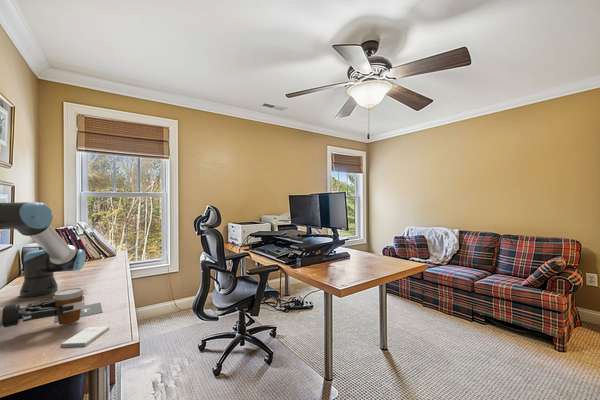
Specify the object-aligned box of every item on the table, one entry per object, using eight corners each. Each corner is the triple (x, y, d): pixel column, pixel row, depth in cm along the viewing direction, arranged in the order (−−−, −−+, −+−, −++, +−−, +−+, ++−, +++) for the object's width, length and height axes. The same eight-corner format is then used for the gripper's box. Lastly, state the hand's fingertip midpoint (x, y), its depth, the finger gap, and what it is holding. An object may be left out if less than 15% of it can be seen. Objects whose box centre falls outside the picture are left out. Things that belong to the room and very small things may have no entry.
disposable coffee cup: (90, 318, 111) (89, 288, 112) (63, 328, 102) (63, 296, 103) (74, 315, 115) (74, 286, 115) (47, 325, 106) (46, 293, 106)
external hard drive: (60, 348, 91) (87, 330, 104) (85, 347, 92) (109, 330, 104) (60, 343, 91) (87, 326, 104) (85, 342, 92) (109, 325, 104)
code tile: (56, 311, 122) (56, 311, 122) (100, 302, 132) (100, 302, 132) (53, 322, 110) (53, 322, 110) (102, 312, 120) (102, 311, 120)
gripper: (9, 318, 105) (84, 303, 120) (-4, 338, 89) (84, 319, 103) (9, 298, 105) (84, 286, 120) (-4, 315, 89) (84, 299, 103)
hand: (84, 301), depth 112 cm, fingers closed on disposable coffee cup, 8 cm apart
